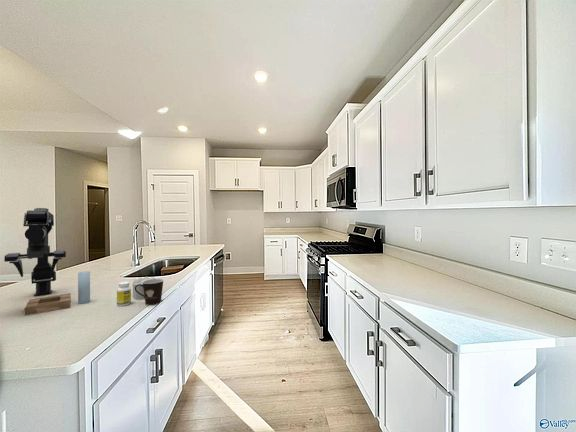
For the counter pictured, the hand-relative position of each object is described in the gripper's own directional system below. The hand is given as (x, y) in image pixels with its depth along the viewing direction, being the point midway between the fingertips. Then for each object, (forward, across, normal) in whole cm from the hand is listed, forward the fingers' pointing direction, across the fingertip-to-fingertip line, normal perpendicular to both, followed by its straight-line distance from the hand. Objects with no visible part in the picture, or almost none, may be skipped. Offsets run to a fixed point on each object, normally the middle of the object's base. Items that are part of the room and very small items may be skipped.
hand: (37, 275), depth 111 cm
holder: (+15, +4, 0) cm, 15 cm away
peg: (+15, +16, -2) cm, 22 cm away
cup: (+15, +40, -8) cm, 43 cm away
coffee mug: (+15, +40, -22) cm, 48 cm away
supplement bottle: (+15, +30, -17) cm, 37 cm away
